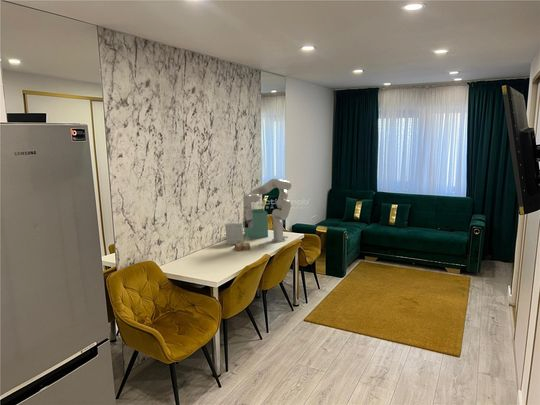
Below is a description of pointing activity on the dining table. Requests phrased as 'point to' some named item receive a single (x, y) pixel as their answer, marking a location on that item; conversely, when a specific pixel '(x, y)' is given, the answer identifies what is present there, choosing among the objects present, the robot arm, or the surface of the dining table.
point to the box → (258, 225)
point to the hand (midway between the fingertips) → (248, 226)
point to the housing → (250, 224)
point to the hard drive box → (234, 233)
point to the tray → (242, 246)
